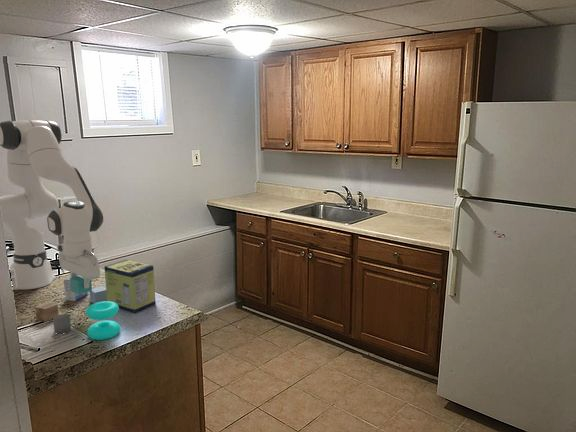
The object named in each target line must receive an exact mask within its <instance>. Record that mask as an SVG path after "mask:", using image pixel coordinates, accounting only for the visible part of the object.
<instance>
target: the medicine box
mask: <svg viewBox="0 0 576 432" xmlns="http://www.w3.org/2000/svg"><path fill="white" fill-rule="evenodd" d="M77 276H78V275H77ZM70 278H71V276H69V277H67V278H65V279H63V287H64V297H65V301H69V302H70V301H71V302H76V301H79V300H80V299H82V298H83V297H85V296H86V295H88V293H89V292H85V293H82V294H79V295H78V294H76V293H74V292H72V291H71V285H70Z"/></svg>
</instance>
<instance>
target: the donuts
mask: <svg viewBox="0 0 576 432" xmlns="http://www.w3.org/2000/svg"><path fill="white" fill-rule="evenodd" d="M119 310H120V309H119V306H118V305H117V304H116V303H114V302H111V301H103V302H97V303H94V304H93V303H91V304H90V305H89V306H88V307H86V309H85V315H86V316H87V317H88V318H89V319H91V320H95V321H97V322H95V323H92V324H91V326H89V327H88V329H87V336H88V337H89V338H90V339H92V340H97V341H102V340H107V339H111V338H114V337H115V336H117V335H118V334H119V333H120V331H121V326H120V323H118V322H116V321H115V320H107V319H110V318H113V317H115V316H117V314H118V312H119Z"/></svg>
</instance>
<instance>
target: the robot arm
mask: <svg viewBox="0 0 576 432" xmlns="http://www.w3.org/2000/svg"><path fill="white" fill-rule="evenodd" d="M62 136H63V135H62V130H61V127H60V126H59V124H58V123H57V122H55V121H53V120H52V121H51V120H37V119H27V120H14V121H11V120H6V121H2V122H0V147H2V148H3V149H6V151H7V152H6V162H7V165H6V166H7V179H8V180H9V182H10V183H11V184H13V185H15V186H17V187H19V188H23V189H24V193H18V194H16V193H15V194H8V195H7V194H6V195H3V196H0V206H1V212H2V218H3V223H4V225H3V226H4V227H5V228H6V229H7V230H8V232H9V233H10V235H11V237H12V242H13V249H14V252H13V256H12V257H13V260H12V264H10V266H9V267H10V273H11V279H12V285H13V290H12V291H14V290H16V291H17V290H32V289H39V288H42V287H43V288H44V287H45V286H49V285H50V284H52V283H53V281H54V280H55V279H57V278H56V275H53V270H52V266H51V261H50V260H48V259H47V258H48V255H47V250H46V249H45V241H44V240H45V239H44V234H43V232H42V231H41V230H40V229H38V228H35V227H33V226H28V224H27V221H29V220H36V219H37V220H38V219H43V218H46V219H47V228H48V231H50V233H52V234H54V235H56V236H63V243H60V244H57V245H56V249H57V251H58V261H59V265H60V268H61V269H62V270H64V271H66V272H69V275H70V277H75V276H77V275H79V276H82V277H83V279H84V283H82V285H83V288H89V283H90V280H91V281H92V280H97V279H98V278H100V276H101V270H100V264H99V259H98V257H96V255H95V253H94V252H93V246H92V245H93V243H92V236H91V233H90V232H93V233H94V232H97V231H98V230H99V229H100V228H101V226H102V225H103V223H104V215H103V212H102V211H101V209H100V207H99V206H98V205H97V203H96V201H95V199H94V198H93V197H92V194H91V192H90V190H89V188H88V186H87V184H86V182H85V180H84V179H83V177H82V174H81V173H80V171H79V170H78V169H77V167H76V166H74V165H72V164H71V163H69V162H68V160H67V159H66V158H65V156H64V155H63V152H62V149H61V147H60V144H61V142H62ZM41 178H43V179H45V180H49V181H53V182H57V183H60V184H64V185H66V186H67V187H69V188H70V189H71V190H72V192H73V194H74V195H75V198H76V200H68V201H65V202H63V203H62V204H61V207H59V206H60V204H59V200H58V197H57V196H56V195H55V194H54V193H53V192H51V191H49V190H48V189H47V188H46V187H45V186H44V184H43V182H42V180H41Z"/></svg>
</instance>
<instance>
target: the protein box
mask: <svg viewBox="0 0 576 432" xmlns="http://www.w3.org/2000/svg"><path fill="white" fill-rule="evenodd" d="M104 276H105V277H104V278H105V279H104V280H105V288H106V293H107V301H111V302H114V303H116V304H117V305H118V306H119V310H122V311H125V312H128V313H132V314H137V313H139V312H141V311H143V310H145V309H148V308H150V307H152V306H155V305H156V304H157V302H156V289H155V287H156V286H155V272H154V265H152V264H146V263H141V262H138V261H133V260H130V259H124V260H121V261H119V262H118V261H117V262H115V263H112V264H108V265H104Z"/></svg>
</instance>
